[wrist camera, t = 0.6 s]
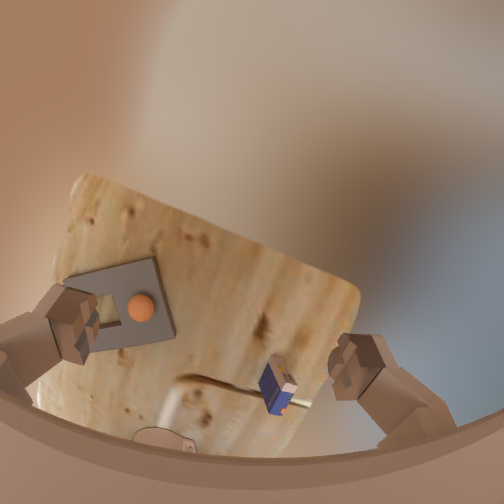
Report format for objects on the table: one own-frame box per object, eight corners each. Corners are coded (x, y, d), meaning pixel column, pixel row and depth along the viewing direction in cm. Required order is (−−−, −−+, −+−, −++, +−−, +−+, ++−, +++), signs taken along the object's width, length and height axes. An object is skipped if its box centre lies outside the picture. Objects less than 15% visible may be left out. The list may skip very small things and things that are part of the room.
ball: (159, 314, 51) (155, 323, 46) (135, 318, 51) (129, 328, 46) (152, 289, 51) (146, 296, 46) (127, 294, 50) (120, 301, 45)
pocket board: (176, 332, 55) (175, 338, 52) (92, 347, 53) (87, 353, 50) (155, 256, 53) (152, 258, 50) (68, 277, 50) (62, 280, 47)
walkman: (269, 385, 60) (282, 417, 48) (258, 383, 60) (269, 415, 48) (283, 357, 60) (299, 385, 48) (271, 354, 59) (286, 383, 47)
